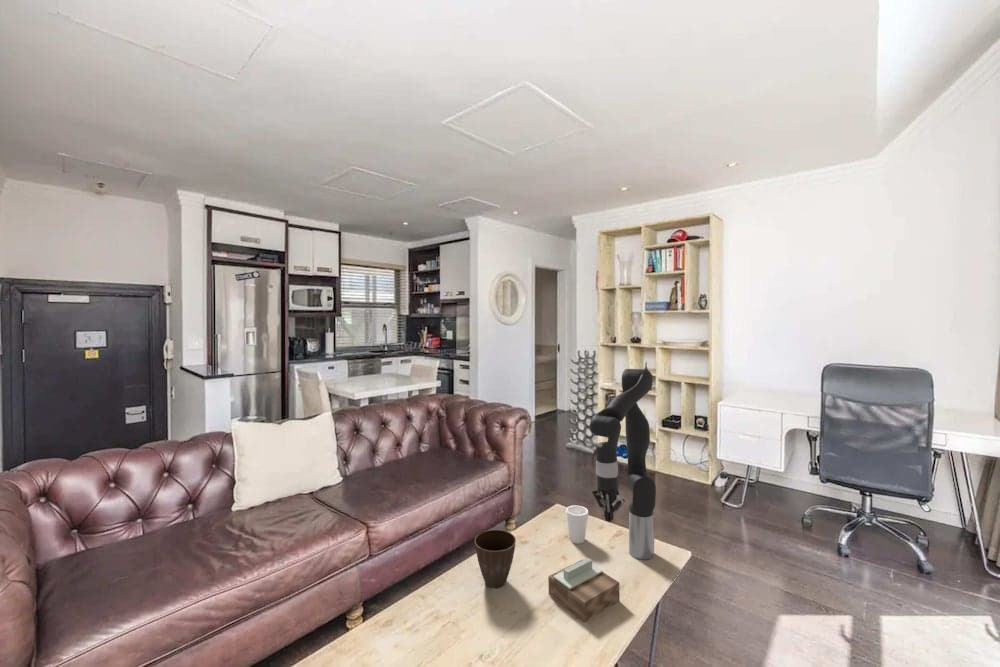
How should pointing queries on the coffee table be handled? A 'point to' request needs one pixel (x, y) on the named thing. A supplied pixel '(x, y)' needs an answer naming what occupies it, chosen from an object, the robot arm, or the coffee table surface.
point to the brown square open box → (586, 595)
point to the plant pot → (495, 556)
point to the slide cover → (577, 573)
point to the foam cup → (577, 523)
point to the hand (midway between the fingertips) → (609, 520)
